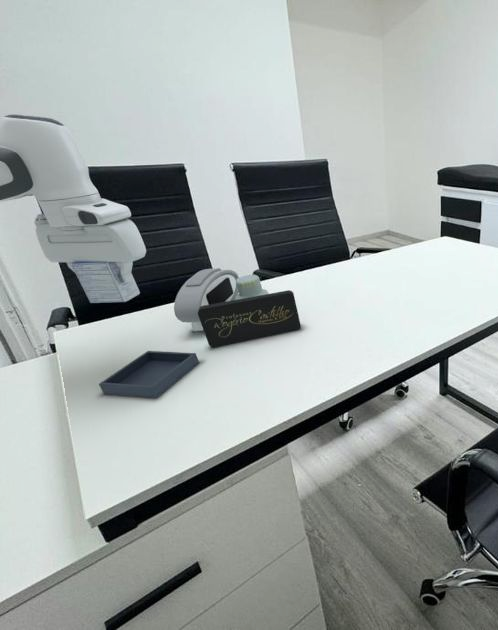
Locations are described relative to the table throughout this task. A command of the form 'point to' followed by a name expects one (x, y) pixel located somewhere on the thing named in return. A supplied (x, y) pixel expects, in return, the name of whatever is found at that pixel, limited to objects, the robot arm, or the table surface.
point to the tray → (149, 374)
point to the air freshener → (249, 287)
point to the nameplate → (249, 318)
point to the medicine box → (104, 282)
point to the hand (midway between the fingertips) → (108, 281)
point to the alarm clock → (204, 293)
